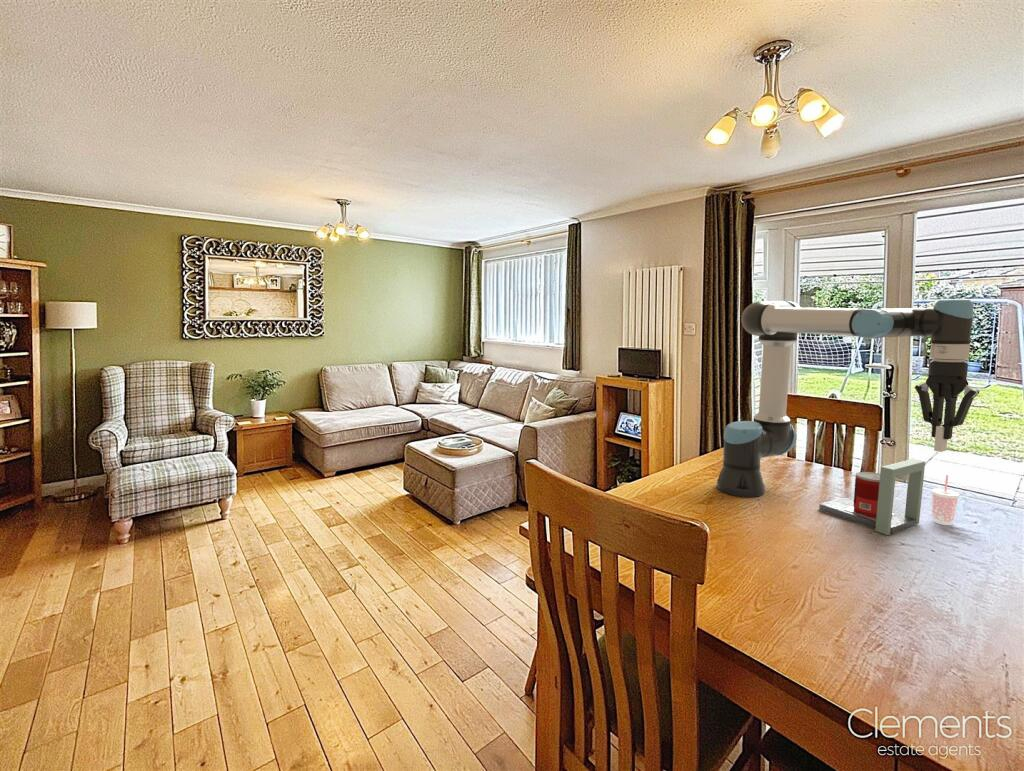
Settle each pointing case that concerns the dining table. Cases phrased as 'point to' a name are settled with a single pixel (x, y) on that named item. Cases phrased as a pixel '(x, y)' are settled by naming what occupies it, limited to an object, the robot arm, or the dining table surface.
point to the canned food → (866, 493)
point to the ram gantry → (900, 470)
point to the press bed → (846, 511)
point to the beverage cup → (944, 505)
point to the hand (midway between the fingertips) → (940, 450)
